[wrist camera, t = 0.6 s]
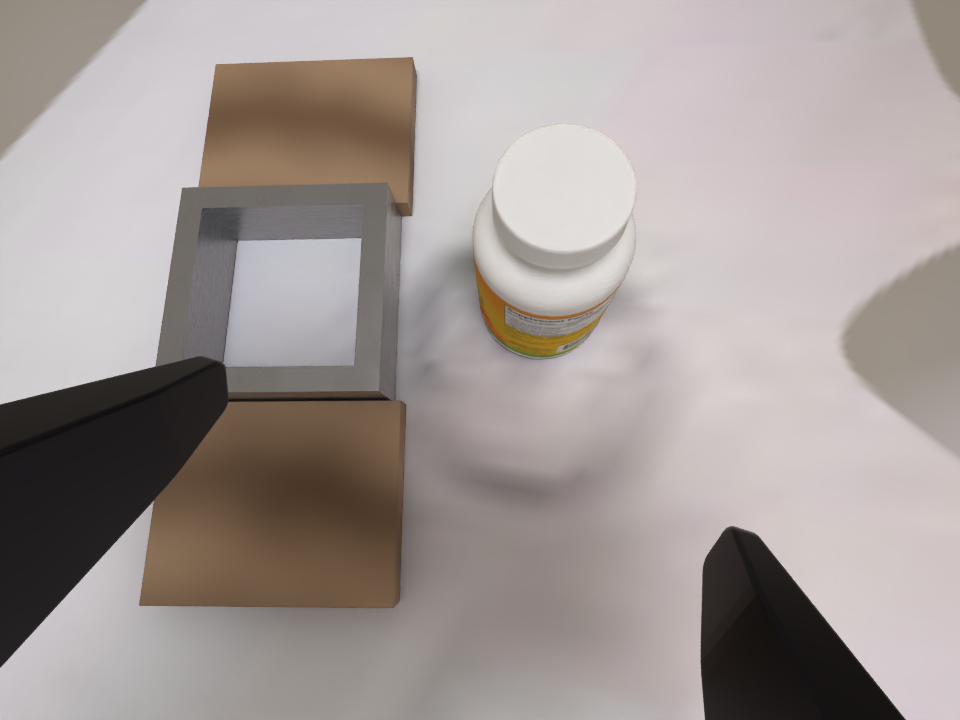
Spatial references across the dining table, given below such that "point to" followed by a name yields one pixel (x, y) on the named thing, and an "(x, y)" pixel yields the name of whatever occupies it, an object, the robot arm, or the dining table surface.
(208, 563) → the brown flat rectangular board
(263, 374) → the grey square frame
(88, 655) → the dining table surface
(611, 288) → the supplement bottle
